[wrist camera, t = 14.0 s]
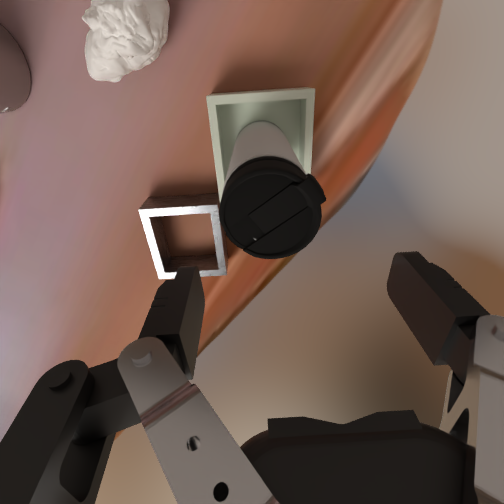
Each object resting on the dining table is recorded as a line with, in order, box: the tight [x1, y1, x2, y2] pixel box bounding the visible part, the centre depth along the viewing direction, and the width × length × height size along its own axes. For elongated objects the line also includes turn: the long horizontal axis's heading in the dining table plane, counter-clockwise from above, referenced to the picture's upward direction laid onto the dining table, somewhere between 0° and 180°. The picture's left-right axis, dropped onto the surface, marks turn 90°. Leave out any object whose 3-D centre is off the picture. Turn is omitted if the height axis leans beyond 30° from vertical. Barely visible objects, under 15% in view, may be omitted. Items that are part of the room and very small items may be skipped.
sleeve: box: [139, 193, 228, 279], centre depth 38 cm, size 11×10×4 cm
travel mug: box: [219, 120, 326, 259], centre depth 25 cm, size 6×7×20 cm
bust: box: [82, 0, 170, 82], centre depth 24 cm, size 12×8×11 cm
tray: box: [206, 87, 315, 202], centre depth 32 cm, size 12×11×4 cm
